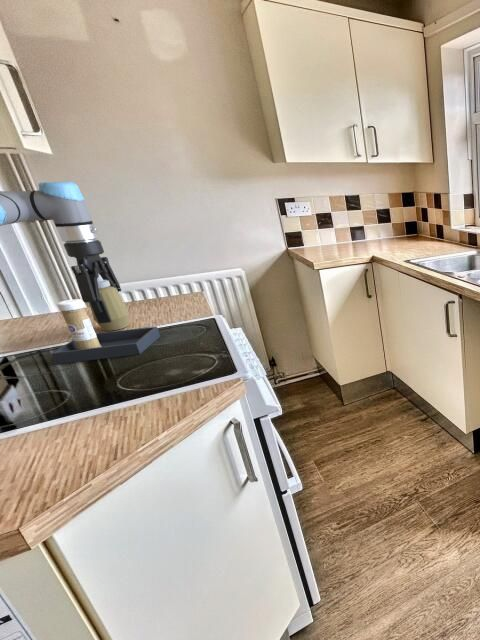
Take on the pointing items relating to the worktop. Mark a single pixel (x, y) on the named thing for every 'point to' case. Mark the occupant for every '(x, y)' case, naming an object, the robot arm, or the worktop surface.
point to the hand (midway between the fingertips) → (112, 317)
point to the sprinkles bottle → (79, 324)
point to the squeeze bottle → (112, 306)
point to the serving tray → (109, 346)
